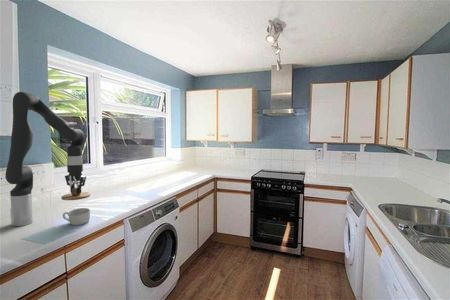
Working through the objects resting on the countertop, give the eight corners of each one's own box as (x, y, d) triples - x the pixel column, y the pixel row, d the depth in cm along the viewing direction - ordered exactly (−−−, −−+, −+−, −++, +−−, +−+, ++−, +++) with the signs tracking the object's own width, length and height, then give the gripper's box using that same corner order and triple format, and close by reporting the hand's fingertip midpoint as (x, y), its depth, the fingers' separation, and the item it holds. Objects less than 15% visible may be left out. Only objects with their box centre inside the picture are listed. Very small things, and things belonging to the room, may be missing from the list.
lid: (55, 198, 132) (54, 190, 131) (77, 193, 145) (77, 184, 144) (74, 201, 127) (73, 192, 127) (95, 195, 141) (95, 186, 140)
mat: (21, 240, 115) (21, 239, 115) (54, 228, 130) (54, 226, 130) (44, 246, 110) (44, 244, 110) (75, 232, 125) (75, 230, 125)
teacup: (94, 220, 143) (93, 207, 142) (83, 228, 132) (83, 214, 131) (70, 220, 142) (70, 207, 142) (58, 228, 132) (58, 214, 131)
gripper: (59, 163, 133) (60, 193, 135) (78, 165, 129) (79, 196, 130) (71, 162, 140) (72, 190, 142) (90, 163, 136) (91, 192, 137)
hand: (76, 193), depth 136 cm, fingers closed on lid, 4 cm apart
